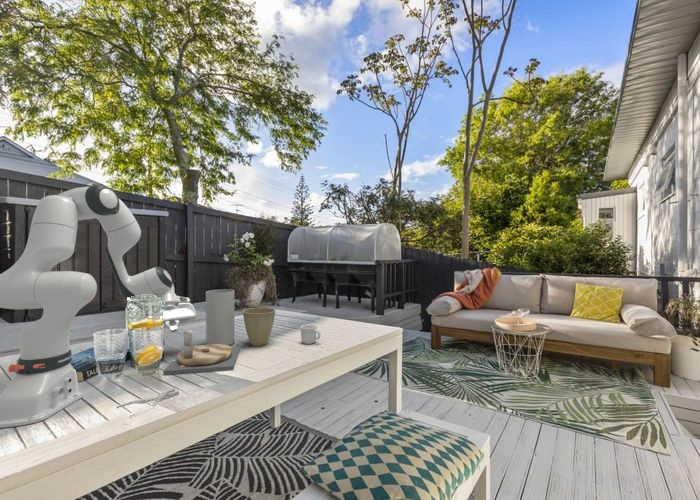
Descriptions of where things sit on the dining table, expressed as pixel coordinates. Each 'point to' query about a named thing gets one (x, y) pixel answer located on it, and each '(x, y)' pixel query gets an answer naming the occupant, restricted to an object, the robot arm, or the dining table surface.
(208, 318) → the cylinder vase
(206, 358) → the dial
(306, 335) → the cup
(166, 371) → the dial base
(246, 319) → the plant pot
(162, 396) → the pliers
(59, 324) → the robot arm
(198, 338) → the dining table surface
